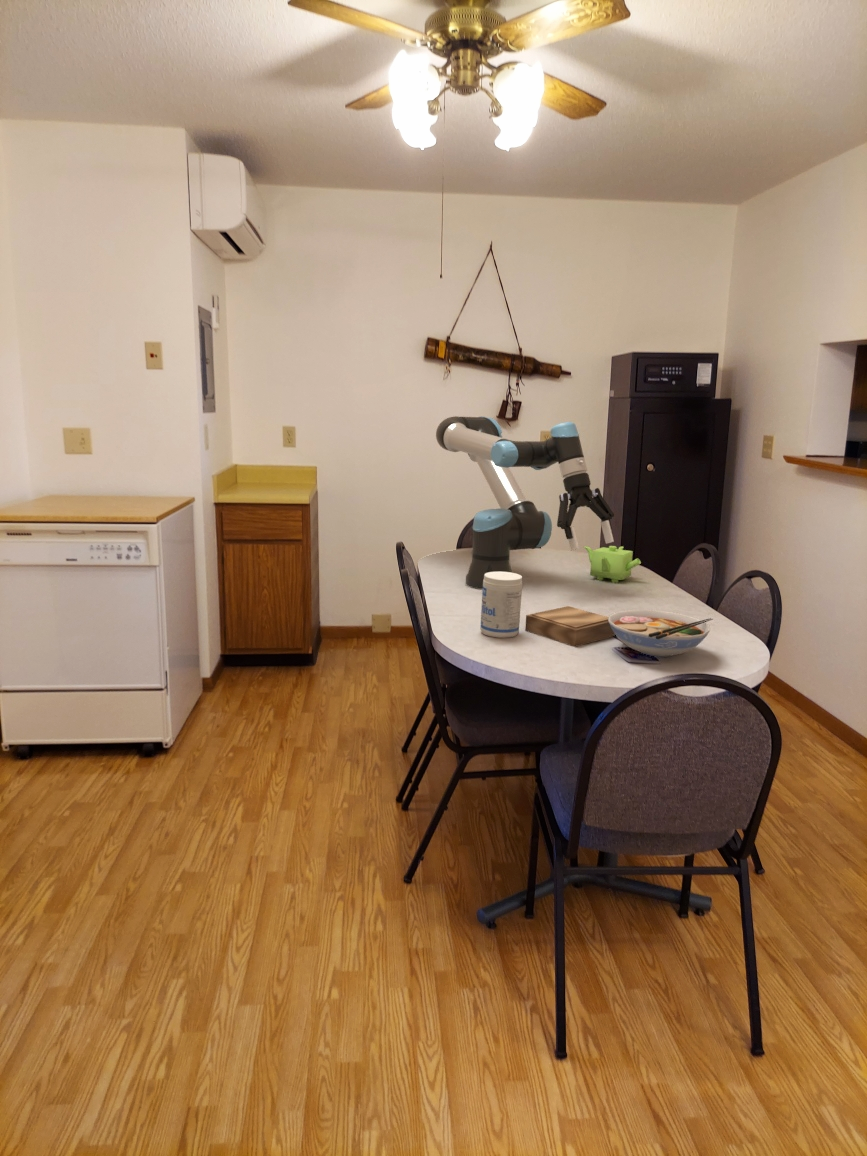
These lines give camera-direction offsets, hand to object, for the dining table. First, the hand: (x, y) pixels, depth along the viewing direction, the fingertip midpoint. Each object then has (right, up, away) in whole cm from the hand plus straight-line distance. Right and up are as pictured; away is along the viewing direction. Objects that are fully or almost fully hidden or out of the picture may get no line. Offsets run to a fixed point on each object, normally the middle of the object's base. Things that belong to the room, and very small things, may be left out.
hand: (592, 546), depth 224 cm
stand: (-12, -23, -31) cm, 40 cm away
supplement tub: (-30, -23, -33) cm, 50 cm away
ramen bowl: (+5, -27, -45) cm, 52 cm away
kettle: (+12, -10, +32) cm, 36 cm away
